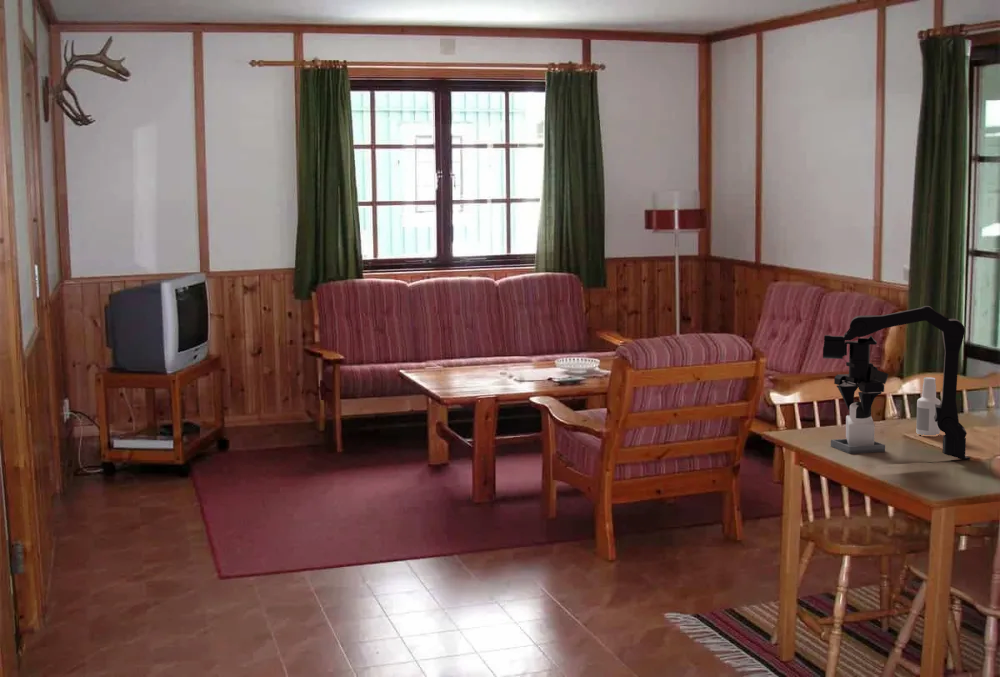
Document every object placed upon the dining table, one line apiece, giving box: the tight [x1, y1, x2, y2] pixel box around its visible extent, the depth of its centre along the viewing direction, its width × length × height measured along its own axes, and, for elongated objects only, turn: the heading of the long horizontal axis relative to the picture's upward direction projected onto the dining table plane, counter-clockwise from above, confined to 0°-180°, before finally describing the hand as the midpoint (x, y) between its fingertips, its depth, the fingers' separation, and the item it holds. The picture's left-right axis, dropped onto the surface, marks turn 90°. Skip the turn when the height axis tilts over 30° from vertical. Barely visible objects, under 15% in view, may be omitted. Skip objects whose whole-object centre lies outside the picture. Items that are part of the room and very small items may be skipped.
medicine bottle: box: [845, 401, 875, 446], centre depth 348 cm, size 7×7×12 cm
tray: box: [830, 438, 886, 454], centre depth 348 cm, size 11×11×2 cm
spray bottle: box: [915, 376, 941, 435], centre depth 366 cm, size 7×7×18 cm
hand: (858, 412), depth 347 cm, fingers open, 9 cm apart
